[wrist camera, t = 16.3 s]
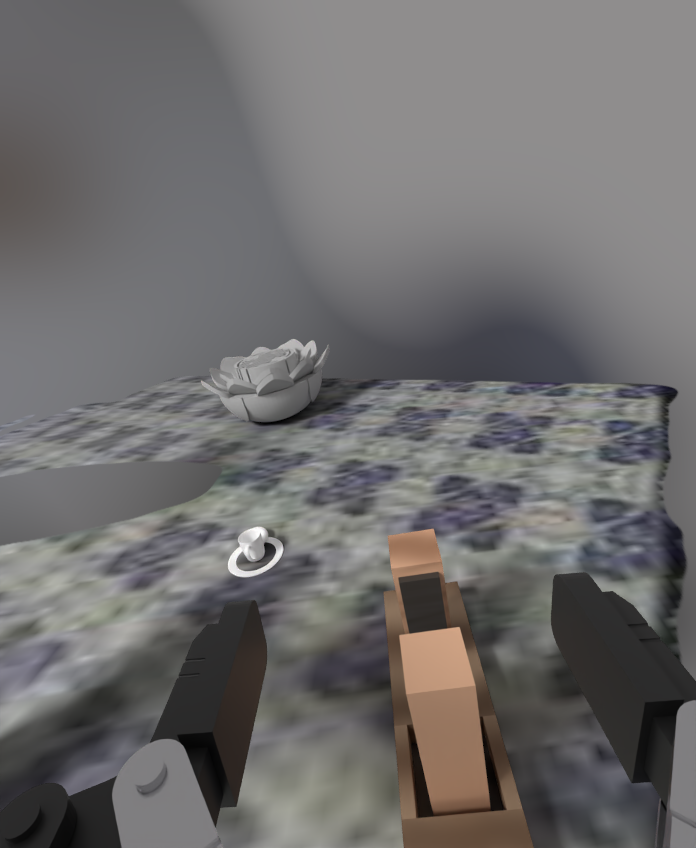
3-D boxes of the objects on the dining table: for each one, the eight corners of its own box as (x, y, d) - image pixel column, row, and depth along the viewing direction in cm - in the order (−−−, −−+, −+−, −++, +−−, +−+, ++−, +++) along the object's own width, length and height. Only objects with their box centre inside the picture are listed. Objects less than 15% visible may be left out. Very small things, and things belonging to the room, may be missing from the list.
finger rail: (547, 913, 26) (543, 781, 20) (414, 921, 27) (374, 797, 21) (459, 598, 48) (445, 492, 42) (387, 608, 48) (364, 505, 43)
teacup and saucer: (251, 534, 67) (243, 512, 65) (296, 537, 64) (289, 515, 62) (218, 576, 60) (208, 553, 58) (267, 582, 57) (258, 558, 55)
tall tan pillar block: (491, 814, 31) (475, 685, 25) (434, 820, 31) (406, 694, 25) (474, 743, 35) (457, 619, 29) (424, 749, 35) (398, 627, 29)
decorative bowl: (280, 387, 130) (266, 338, 124) (358, 393, 112) (346, 337, 106) (196, 433, 110) (174, 377, 104) (274, 450, 91) (254, 384, 85)
